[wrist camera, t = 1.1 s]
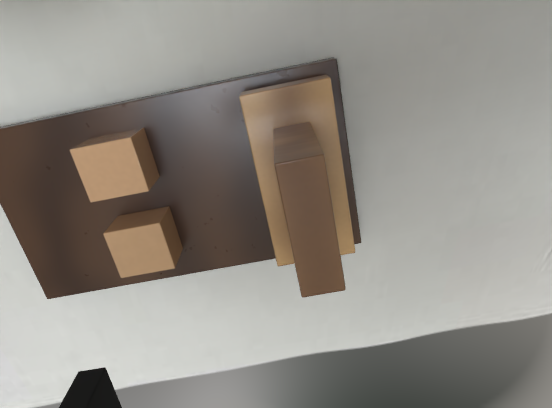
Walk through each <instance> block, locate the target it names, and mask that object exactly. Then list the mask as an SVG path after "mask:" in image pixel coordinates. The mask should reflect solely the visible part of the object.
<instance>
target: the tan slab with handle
mask: <svg viewBox="0 0 552 408" xmlns="http://www.w3.org/2000/svg"><path fill="white" fill-rule="evenodd" d="M239 99H240V103H241V107H242V112H243V116H244V121H245V125H246V129H247V134H248V138H249V143H250V147H251V151H252V156H253V160H254V165H255V169H256V173H257V178H258V182H259V186H260V191H261V195H262V200H263V204H264V208H265V213H266V217H267V222H268V226H269V230H270V235H271V239H272V243H273V248H274V252H275V257H276V261H277V265H278V266H283V265H288V264H294V263H295V267H296V272H297V277H298V282H299V286H300V291H301V296H302V297H308V296H314V295H320V294H326V293H331V292H337V291H343V290H345V289H346V288H345V281H344V275H343V269H342V262H341V256H340V255H344V254H350V253H355V246H354V239H353V232H352V224H351V217H350V210H349V203H348V196H347V189H346V182H345V175H344V168H343V161H342V154H341V147H340V140H339V133H338V126H337V119H336V112H335V105H334V98H333V91H332V84H331V78H330V77H329V76H327V75H322V76H317V77H312V78H307V79H302V80H297V81H292V82H288V83H283V84H278V85H273V86H268V87H263V88H259V89H254V90H249V91H244V92H241V94H240V96H239Z"/></svg>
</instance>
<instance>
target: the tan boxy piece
mask: <svg viewBox="0 0 552 408" xmlns="http://www.w3.org/2000/svg"><path fill="white" fill-rule="evenodd" d="M70 152H71V155H72V157H73V160H74V162H75V165H76V167H77V170H78V172H79V175H80V177H81V180H82V182H83V185H84V187H85V190H86V192H87V195H88V197H89V200H90V202H96V201H101V200H107V199H112V198H117V197H122V196H127V195H132V194H138V193H143V192H148V191H149V190H150V189H151V188H152V186H153V185H154V184H155V183H156V181H157V180H158V179H159V177H160V176H159V173H158V170H157V167H156V163H155V160H154V157H153V154H152V151H151V148H150V145H149V142H148V139H147V136H146V133H145V129H144V128H139V129H134V130H129V131H124V132H119V133H114V134H109V135H104V136H100V137H95V138H90V139H87V140H86V141H84V142H82V143H80V144H79V145H77V146H75V147H74V148H72V149H70Z"/></svg>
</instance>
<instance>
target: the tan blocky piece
mask: <svg viewBox="0 0 552 408" xmlns="http://www.w3.org/2000/svg"><path fill="white" fill-rule="evenodd" d="M103 235H104V237H105V240H106V242H107V245H108V247H109V250H110V252H111V255H112V257H113V260H114V262H115V264H116V267H117V269H118V272H119V274H120V277H121V278H125V277H130V276H136V275H141V274H147V273H153V272H158V271H164V270H169V269H174V268H175V267H176V265H177V262H178V260H179V257H180V255H181V252H182V250H183V247H182V244H181V241H180V238H179V235H178V232H177V228H176V225H175V222H174V219H173V216H172V213H171V210H170V207H169V206H168V207H163V208H157V209H152V210H147V211H142V212H136V213H131V214H126V215H121V216H117V217H116V219H115V220H114V221H113V222H112V223H111V225H110V226H109V227H108V228H107V229H106V231H105V232H104V233H103Z"/></svg>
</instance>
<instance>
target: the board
mask: <svg viewBox="0 0 552 408" xmlns="http://www.w3.org/2000/svg"><path fill="white" fill-rule="evenodd" d="M322 75H327V76H329V77H330V78H331V84H332V91H333V98H334V105H335V112H336V119H337V126H338V133H339V140H340V147H341V154H342V161H343V168H344V175H345V182H346V189H347V196H348V203H349V210H350V217H351V224H352V232H353V239H354V244H358V243H361V237H360V230H359V222H358V215H357V207H356V200H355V193H354V185H353V178H352V170H351V163H350V155H349V148H348V141H347V133H346V126H345V118H344V111H343V103H342V96H341V89H340V81H339V74H338V66H337V59H335V58H328V59H323V60H319V61H314V62H309V63H304V64H299V65H295V66H290V67H285V68H280V69H276V70H271V71H266V72H261V73H256V74H252V75H247V76H242V77H237V78H233V79H228V80H223V81H218V82H213V83H209V84H204V85H199V86H194V87H189V88H185V89H180V90H175V91H170V92H166V93H161V94H156V95H151V96H146V97H142V98H137V99H132V100H127V101H123V102H118V103H113V104H108V105H103V106H99V107H94V108H89V109H84V110H80V111H75V112H70V113H65V114H60V115H56V116H51V117H46V118H41V119H37V120H32V121H27V122H22V123H17V124H13V125H8V126H3V127H0V204H1V206H2V208H3V210H4V212H5V214H6V216H7V218H8V220H9V222H10V224H11V226H12V228H13V230H14V232H15V234H16V236H17V238H18V240H19V242H20V244H21V246H22V248H23V250H24V252H25V254H26V256H27V258H28V261H29V263H30V265H31V267H32V269H33V271H34V273H35V275H36V277H37V279H38V281H39V283H40V285H41V287H42V289H43V291H44V293H45V295H46V297H47V299H51V298H57V297H62V296H68V295H73V294H79V293H85V292H90V291H96V290H101V289H107V288H112V287H118V286H124V285H129V284H135V283H140V282H146V281H151V280H157V279H163V278H168V277H174V276H179V275H185V274H190V273H196V272H202V271H207V270H213V269H218V268H224V267H230V266H235V265H241V264H246V263H252V262H257V261H263V260H269V259H274V258H276V257H275V252H274V248H273V243H272V239H271V235H270V230H269V226H268V222H267V217H266V213H265V208H264V204H263V200H262V195H261V191H260V186H259V182H258V178H257V173H256V169H255V165H254V160H253V156H252V151H251V147H250V143H249V138H248V134H247V129H246V125H245V121H244V116H243V112H242V107H241V103H240V99H239V96H240V94H241V92H244V91H249V90H254V89H259V88H263V87H268V86H273V85H278V84H283V83H288V82H292V81H297V80H302V79H307V78H312V77H317V76H322ZM139 128H144V129H145V133H146V136H147V139H148V142H149V145H150V148H151V151H152V154H153V157H154V160H155V163H156V167H157V170H158V173H159V176H160V177H159V179H158V180H157V181H156V183H155V184H154V185H153V186H152V188H151V189H150V190H149V191H148V192H143V193H138V194H132V195H127V196H122V197H117V198H112V199H107V200H101V201H96V202H90V200H89V197H88V195H87V192H86V190H85V187H84V185H83V182H82V180H81V177H80V175H79V172H78V170H77V167H76V165H75V162H74V160H73V157H72V155H71V152H70V149H72V148H74V147H75V146H77V145H79V144H80V143H82V142H84V141H86V140H87V139H90V138H95V137H100V136H104V135H109V134H114V133H119V132H124V131H129V130H134V129H139ZM168 206H169V207H170V210H171V213H172V216H173V219H174V222H175V225H176V228H177V232H178V235H179V238H180V241H181V244H182V247H183V250H182V252H181V255H180V257H179V260H178V262H177V265H176V267H175V268H174V269H169V270H164V271H158V272H153V273H147V274H141V275H136V276H130V277H125V278H121V277H120V274H119V272H118V269H117V267H116V264H115V262H114V260H113V257H112V255H111V252H110V250H109V247H108V245H107V242H106V240H105V237H104V235H103V233H104V232H105V231H106V229H107V228H108V227H109V226H110V225H111V223H112V222H113V221H114V220H115V219H116V217H117V216H121V215H126V214H131V213H136V212H142V211H147V210H152V209H157V208H163V207H168Z"/></svg>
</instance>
